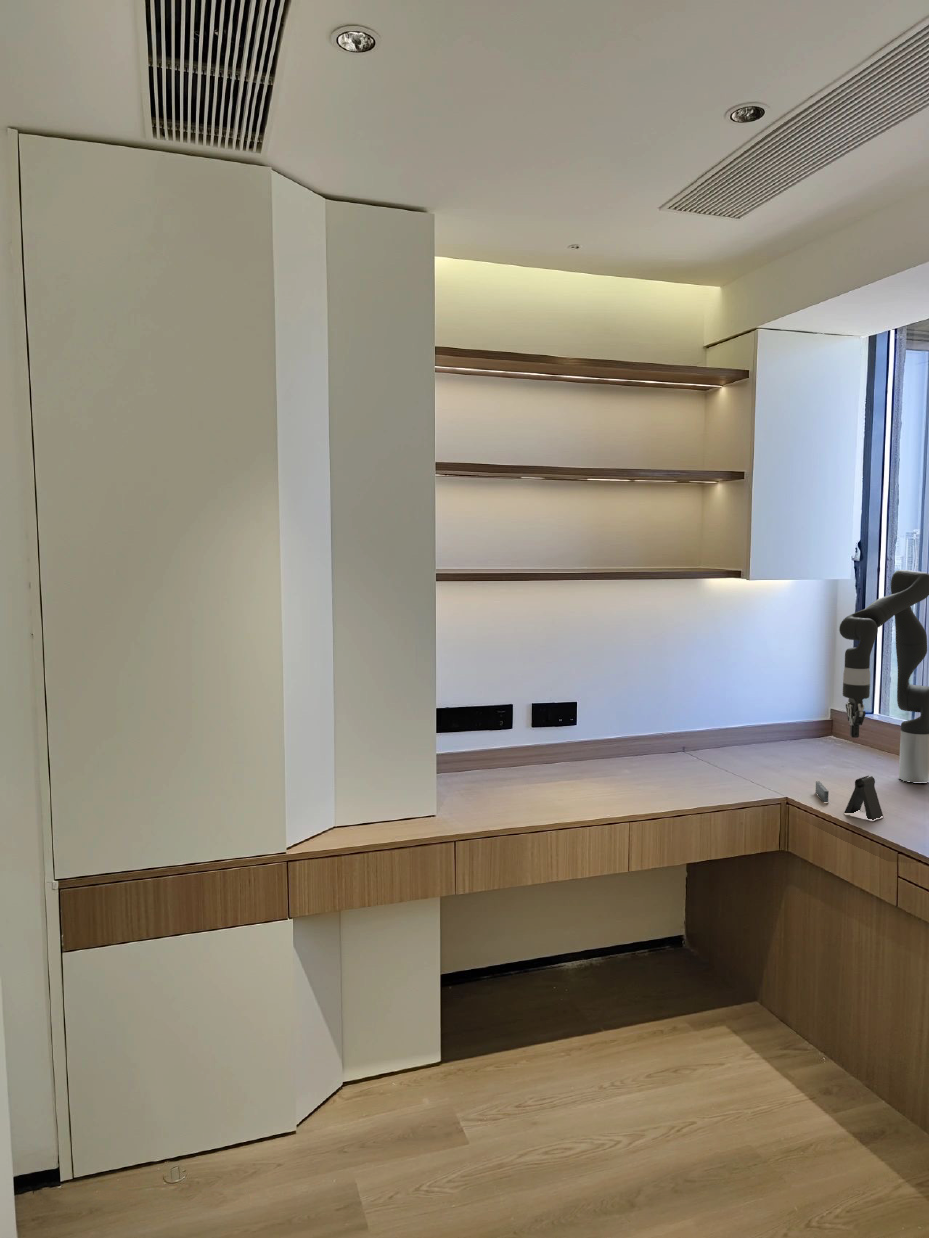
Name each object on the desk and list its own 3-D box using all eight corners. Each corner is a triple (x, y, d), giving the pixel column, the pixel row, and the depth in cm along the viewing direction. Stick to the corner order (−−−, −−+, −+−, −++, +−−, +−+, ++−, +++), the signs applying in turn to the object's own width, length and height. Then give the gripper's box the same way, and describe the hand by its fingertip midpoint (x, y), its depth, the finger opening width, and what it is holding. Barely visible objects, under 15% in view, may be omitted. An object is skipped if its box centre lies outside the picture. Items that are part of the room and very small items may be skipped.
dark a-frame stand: (883, 818, 245) (885, 779, 244) (872, 822, 242) (874, 782, 241) (854, 810, 252) (856, 772, 251) (843, 814, 249) (845, 775, 248)
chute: (815, 793, 270) (815, 781, 270) (865, 795, 267) (866, 783, 267) (824, 803, 259) (824, 791, 259) (876, 805, 257) (876, 793, 256)
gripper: (876, 686, 246) (874, 742, 248) (862, 678, 259) (860, 732, 261) (849, 685, 248) (847, 741, 249) (837, 678, 261) (835, 731, 262)
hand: (854, 736), depth 255 cm, fingers closed
